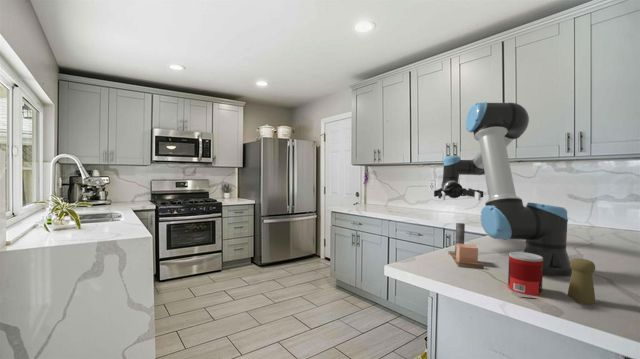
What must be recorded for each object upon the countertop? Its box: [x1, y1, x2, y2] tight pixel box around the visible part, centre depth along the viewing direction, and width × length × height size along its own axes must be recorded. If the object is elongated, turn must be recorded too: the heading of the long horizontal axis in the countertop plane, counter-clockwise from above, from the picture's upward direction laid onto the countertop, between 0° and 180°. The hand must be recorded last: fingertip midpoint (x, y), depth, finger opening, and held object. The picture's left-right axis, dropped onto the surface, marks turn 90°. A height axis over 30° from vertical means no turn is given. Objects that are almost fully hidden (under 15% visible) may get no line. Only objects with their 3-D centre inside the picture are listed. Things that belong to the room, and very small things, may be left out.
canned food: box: [507, 251, 544, 300], centre depth 87 cm, size 8×8×11 cm
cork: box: [566, 258, 597, 306], centre depth 83 cm, size 6×6×11 cm
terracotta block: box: [455, 243, 479, 263], centre depth 113 cm, size 6×6×6 cm
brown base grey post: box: [447, 222, 485, 270], centre depth 117 cm, size 22×8×13 cm, turn 166°
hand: (461, 197), depth 129 cm, fingers open, 13 cm apart
